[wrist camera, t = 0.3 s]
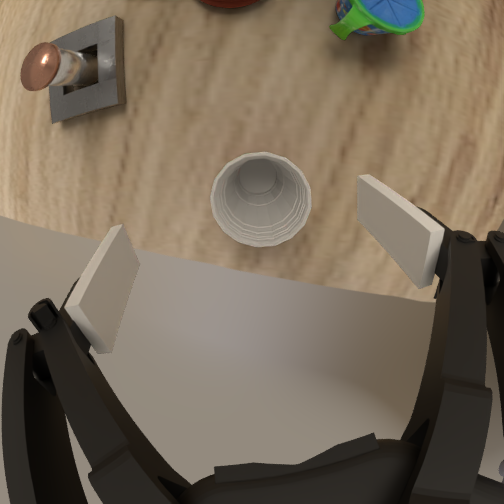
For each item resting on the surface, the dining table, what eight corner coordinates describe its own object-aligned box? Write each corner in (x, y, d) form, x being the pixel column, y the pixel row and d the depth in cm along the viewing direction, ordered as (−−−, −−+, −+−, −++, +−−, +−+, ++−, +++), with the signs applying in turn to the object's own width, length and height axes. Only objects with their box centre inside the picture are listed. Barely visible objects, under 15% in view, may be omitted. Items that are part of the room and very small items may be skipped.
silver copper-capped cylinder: (73, 59, 28) (20, 54, 17) (105, 47, 28) (56, 34, 17) (74, 93, 31) (21, 97, 20) (106, 82, 31) (56, 80, 20)
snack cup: (368, -26, 22) (397, -49, 13) (410, 23, 26) (448, 12, 17) (296, 11, 27) (312, -15, 18) (345, 64, 31) (375, 54, 22)
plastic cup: (220, 136, 36) (211, 148, 26) (297, 142, 37) (319, 158, 27) (216, 208, 42) (208, 246, 31) (288, 212, 42) (303, 251, 32)
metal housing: (59, 44, 26) (48, 43, 23) (123, 20, 26) (115, 15, 23) (62, 121, 33) (52, 123, 30) (126, 103, 33) (117, 103, 30)
